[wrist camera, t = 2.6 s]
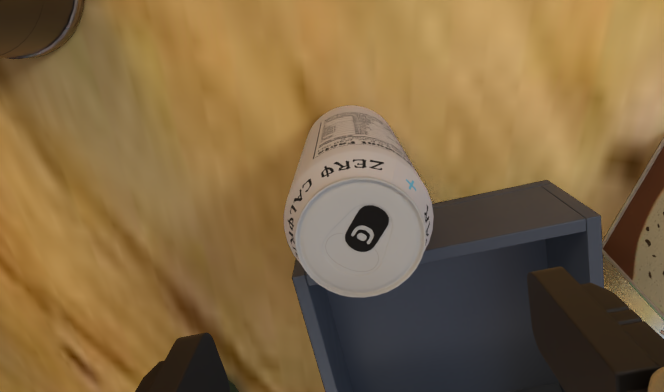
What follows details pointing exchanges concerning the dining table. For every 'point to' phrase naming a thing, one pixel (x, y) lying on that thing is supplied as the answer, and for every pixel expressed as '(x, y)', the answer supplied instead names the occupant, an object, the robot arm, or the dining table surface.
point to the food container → (642, 235)
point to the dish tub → (458, 300)
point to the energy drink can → (357, 206)
